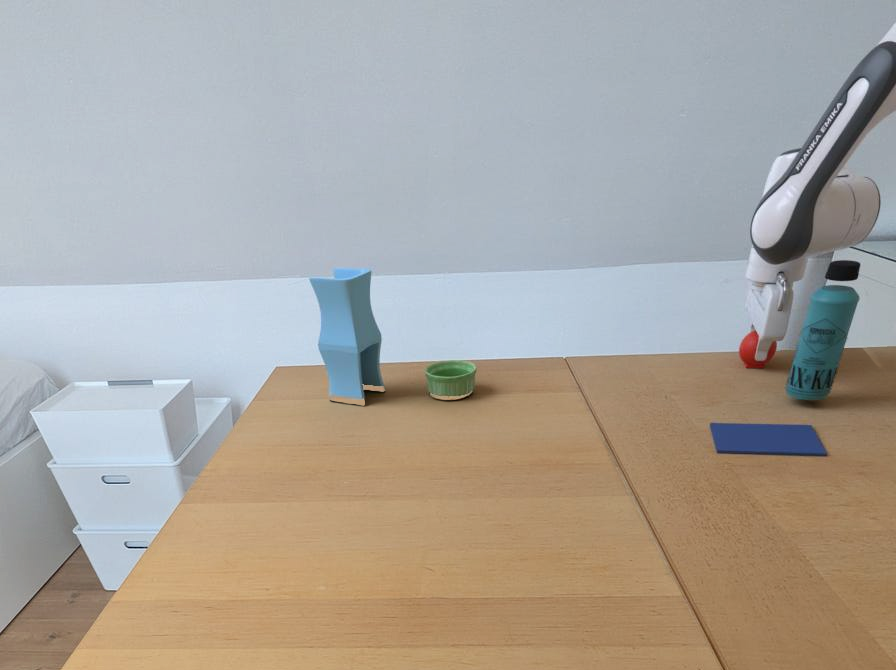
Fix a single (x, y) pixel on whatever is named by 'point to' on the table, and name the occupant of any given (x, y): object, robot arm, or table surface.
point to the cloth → (766, 439)
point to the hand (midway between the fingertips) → (756, 352)
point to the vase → (348, 332)
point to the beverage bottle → (824, 334)
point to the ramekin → (451, 378)
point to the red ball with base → (749, 348)
